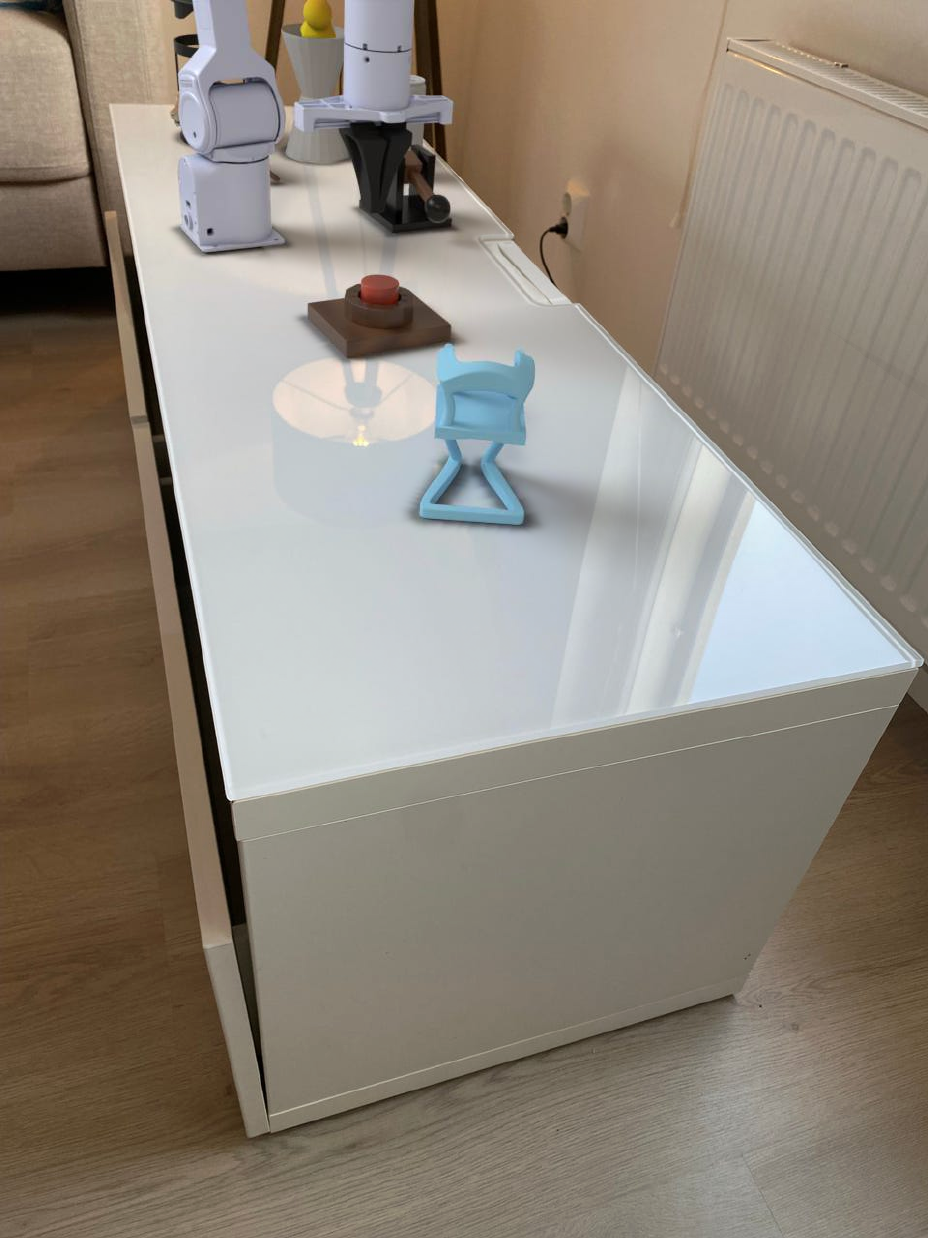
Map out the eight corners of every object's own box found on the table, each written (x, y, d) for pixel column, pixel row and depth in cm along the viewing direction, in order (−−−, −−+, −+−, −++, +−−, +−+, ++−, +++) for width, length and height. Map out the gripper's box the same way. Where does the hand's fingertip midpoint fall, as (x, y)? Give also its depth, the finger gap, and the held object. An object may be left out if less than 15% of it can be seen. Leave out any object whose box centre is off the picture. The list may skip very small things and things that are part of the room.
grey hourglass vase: (282, 142, 141) (274, -174, 118) (347, 145, 142) (351, -166, 120) (285, 163, 134) (278, -169, 111) (353, 165, 136) (359, -160, 113)
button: (371, 309, 94) (371, 291, 92) (354, 294, 96) (354, 276, 95) (405, 304, 95) (406, 286, 94) (387, 289, 97) (388, 271, 96)
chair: (518, 466, 81) (539, 324, 73) (523, 526, 74) (546, 378, 67) (422, 458, 80) (433, 315, 72) (419, 518, 74) (430, 368, 66)
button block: (346, 359, 92) (347, 322, 90) (307, 319, 98) (306, 284, 96) (450, 341, 97) (453, 306, 95) (407, 304, 103) (408, 270, 100)
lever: (452, 226, 116) (457, 203, 113) (429, 229, 115) (434, 205, 112) (411, 170, 120) (415, 147, 118) (388, 172, 119) (393, 148, 117)
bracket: (451, 228, 121) (457, 160, 116) (392, 235, 117) (395, 165, 112) (416, 203, 126) (420, 137, 121) (358, 209, 123) (360, 141, 118)
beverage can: (419, 185, 132) (425, 84, 124) (383, 181, 132) (386, 80, 124) (421, 174, 136) (427, 75, 128) (386, 170, 135) (389, 71, 128)
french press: (249, 151, 136) (240, -50, 121) (177, 148, 135) (159, -56, 120) (249, 127, 145) (241, -64, 130) (182, 123, 143) (166, -70, 129)
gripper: (317, 57, 79) (318, 231, 88) (475, 54, 85) (461, 216, 94) (283, 37, 83) (286, 204, 92) (435, 34, 90) (425, 191, 98)
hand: (372, 209), depth 93 cm, fingers closed
